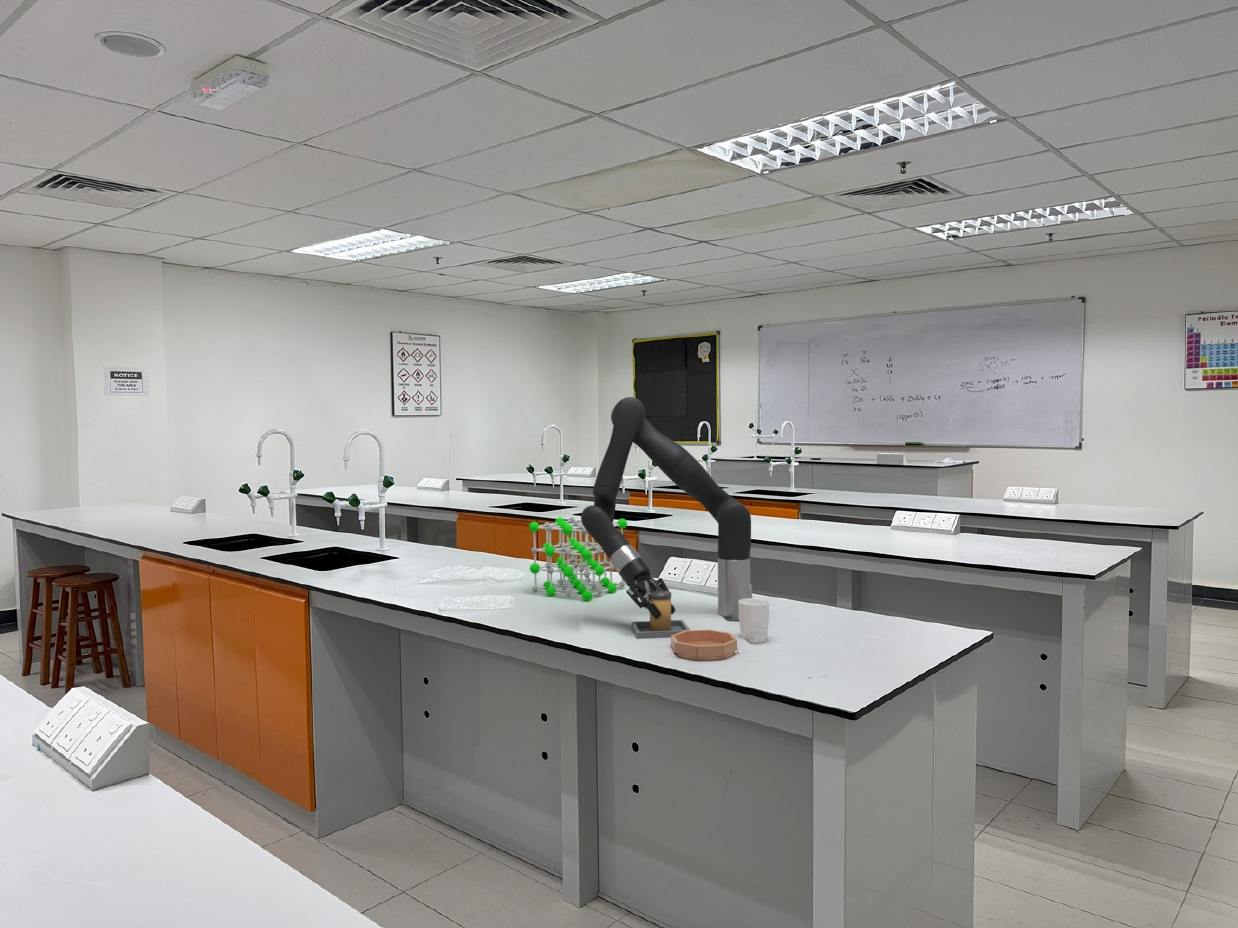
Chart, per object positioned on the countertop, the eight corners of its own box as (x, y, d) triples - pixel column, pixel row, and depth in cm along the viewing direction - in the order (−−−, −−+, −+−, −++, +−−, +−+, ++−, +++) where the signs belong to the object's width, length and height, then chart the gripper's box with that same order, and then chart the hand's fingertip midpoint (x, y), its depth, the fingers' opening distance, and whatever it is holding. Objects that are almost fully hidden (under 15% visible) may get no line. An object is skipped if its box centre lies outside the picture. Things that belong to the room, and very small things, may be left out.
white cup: (762, 645, 206) (762, 606, 205) (733, 641, 210) (733, 602, 209) (774, 638, 212) (773, 600, 212) (745, 634, 216) (745, 597, 216)
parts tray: (682, 628, 223) (682, 619, 223) (691, 640, 211) (691, 630, 211) (631, 630, 222) (631, 621, 222) (637, 642, 210) (637, 632, 210)
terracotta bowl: (726, 642, 209) (726, 628, 209) (741, 659, 194) (741, 644, 194) (667, 644, 207) (667, 631, 207) (678, 661, 192) (678, 647, 192)
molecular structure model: (630, 588, 279) (629, 518, 278) (588, 602, 258) (587, 526, 257) (572, 582, 292) (571, 514, 291) (528, 594, 271) (526, 522, 270)
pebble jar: (669, 628, 220) (669, 590, 219) (673, 633, 214) (672, 594, 214) (648, 629, 219) (647, 590, 219) (651, 634, 213) (650, 595, 213)
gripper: (620, 560, 215) (657, 611, 208) (653, 553, 226) (689, 601, 219) (605, 578, 218) (641, 629, 211) (638, 570, 230) (673, 618, 223)
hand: (665, 614), depth 215 cm, fingers closed on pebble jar, 5 cm apart
